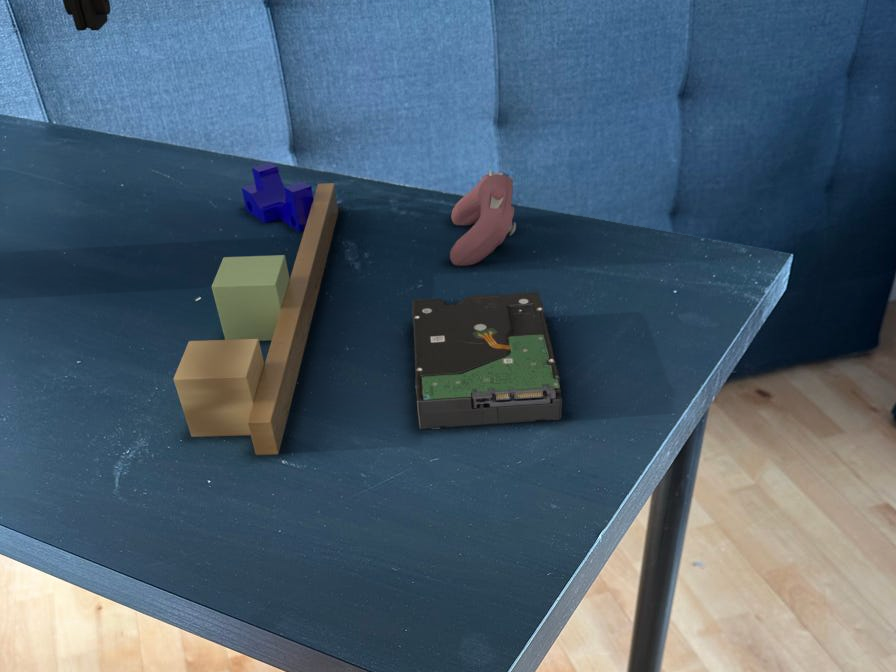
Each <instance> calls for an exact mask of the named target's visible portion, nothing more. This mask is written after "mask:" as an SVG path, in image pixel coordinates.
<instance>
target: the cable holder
mask: <svg viewBox="0 0 896 672" xmlns="http://www.w3.org/2000/svg"><path fill="white" fill-rule="evenodd" d="M251 170H252V175H253V180H254V183H252V184H249V185H245V186H242V187H241V192H242V196H243V202H244V206H245V210H246V211H247V212H248V213H250V214H251V215H252V216H254V217H256V218H257V219H259V220H260V221H262V222H263V223H264V224H268V223H271V222H275V221H277V220H280V221H282V222H283V223H285V224H286V225H288V226H290V227H292V228H293V229H295V230H296V231H297V232H299V233H301V232H304V230H305V227H306V223H307V220H308V217H309V213H310V210H311V206H312V203H313V200H314V194H313V187H312V185H310V184H308V183H306V182H305V181H300V182H298V183H293V184H291V185H287V186H285V184H284V183H283V180H282V178H281V175H280V171H279V167H278V165H276V164H274V163H273V162H271V161H269V162H265V163H262V164H259V165H255V166H252V167H251Z"/></svg>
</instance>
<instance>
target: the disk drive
mask: <svg viewBox="0 0 896 672" xmlns="http://www.w3.org/2000/svg"><path fill="white" fill-rule="evenodd" d="M411 311H412V325H413V341H414V342H413V344H414V348H413V349H414V369H415V381H414V382H415V385H414V387H415V394H416V395H415V396H416V406H417V417H418V426H419V429H420V430H427V429H431V430H435V429H450V428H451V429H452V428H461V427H462V428H465V427H480V426H490V425H491V426H492V425H506V424H519V423H520V424H522V423H529V422H530V423H532V422H533V423H536V422H538V421H539V422H541V421H546V422H547V421H552V420H553V421H559V420H561V419H562V410H563V409H562V407H563V396H562V391H561V386H560V372H559V367H558V366H557V362H556V358H555V354H554V351H553V345H552V342H551V338H550V337H551V336H550V334H549V329H548V325H547V320H546V316H545V311H544V303H543V302H542V299H541V296H540V292H539V291H527V292H515V293H503V294H502V293H498V294H481V295H467V296H466V297H464V298H462V300H459V301H457V302H455V303H453V304H451V303H449V302H447V301H443V299H442V298H441V297H435V298H420V299H419V298H418V299H413V300H412V309H411Z"/></svg>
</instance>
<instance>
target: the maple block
mask: <svg viewBox="0 0 896 672" xmlns="http://www.w3.org/2000/svg"><path fill="white" fill-rule="evenodd" d="M264 365H265V362H264V357H263V352H262V349H261V345H260V341H259V340H258V339H238V340H225V339H210V340H208V339H207V340H189V341H188V343H187V345H186V348H185V350H184V352H183V355H182V357H181V360H180V362H179V365H178V367H177V369H176V372H175V373H174V377H173V382H174V385H175V388H176V391H177V395H178V398H179V401H180V404H181V407H182V411H183V414H184V416H185V421H186V423H187V426H188V431H189V433H190V436H191V438H197V437H198V438H199V437H201V438H203V437H231V436H232V437H235V436H251V434H250V430H249V426H248V419H249V416H250V412H251V409H252V406H253V402H254V399H255V395H256V392H257V389H258V385H259V382H260V379H261V375H262V372H263V368H264Z"/></svg>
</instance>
